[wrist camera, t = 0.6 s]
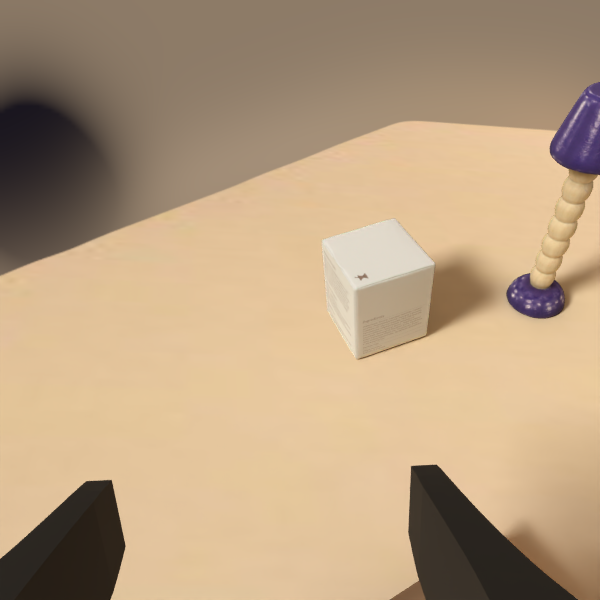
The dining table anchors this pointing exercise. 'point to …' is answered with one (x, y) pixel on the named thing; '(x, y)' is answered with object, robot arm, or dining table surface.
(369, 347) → the product box
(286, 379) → the dining table surface
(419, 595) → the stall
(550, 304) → the toy lamp
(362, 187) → the dining table surface
